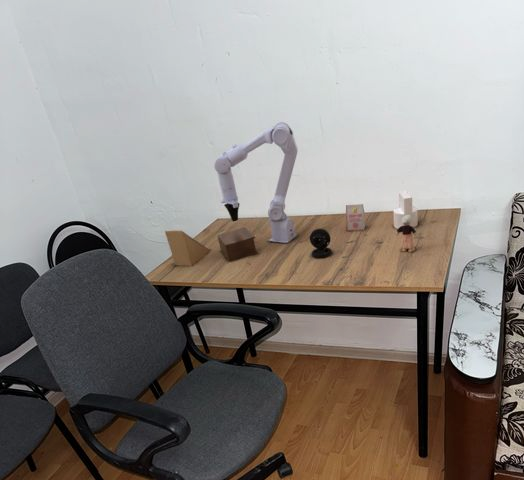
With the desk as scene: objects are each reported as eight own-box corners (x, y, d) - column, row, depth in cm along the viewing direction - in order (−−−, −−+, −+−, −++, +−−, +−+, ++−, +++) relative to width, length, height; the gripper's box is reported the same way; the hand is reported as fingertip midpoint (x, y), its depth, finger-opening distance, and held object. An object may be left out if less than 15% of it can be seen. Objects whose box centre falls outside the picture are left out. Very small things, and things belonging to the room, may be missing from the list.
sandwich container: (211, 249, 202) (202, 215, 193) (192, 265, 191) (182, 230, 183) (194, 249, 206) (185, 216, 197) (175, 265, 195) (164, 230, 187)
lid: (245, 228, 197) (244, 227, 197) (255, 238, 186) (254, 236, 186) (217, 236, 195) (217, 235, 195) (225, 246, 184) (225, 245, 184)
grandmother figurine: (418, 247, 167) (419, 213, 160) (417, 252, 165) (417, 217, 158) (396, 247, 171) (396, 213, 164) (394, 252, 168) (393, 217, 161)
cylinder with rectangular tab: (420, 226, 182) (420, 196, 176) (396, 230, 183) (396, 200, 176) (414, 219, 190) (414, 189, 183) (391, 222, 191) (390, 193, 184)
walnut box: (246, 243, 201) (243, 229, 197) (256, 253, 190) (253, 238, 186) (221, 250, 199) (217, 236, 195) (229, 261, 188) (225, 247, 184)
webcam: (309, 258, 176) (306, 233, 171) (314, 250, 182) (311, 225, 176) (329, 258, 174) (326, 232, 168) (334, 249, 179) (331, 224, 174)
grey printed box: (348, 227, 195) (346, 203, 189) (365, 226, 192) (363, 202, 187) (347, 230, 192) (345, 206, 186) (363, 230, 189) (362, 205, 184)
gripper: (214, 186, 193) (221, 218, 201) (223, 194, 181) (230, 228, 189) (230, 182, 194) (237, 214, 202) (240, 189, 183) (247, 223, 190)
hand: (235, 220), depth 195 cm, fingers closed
